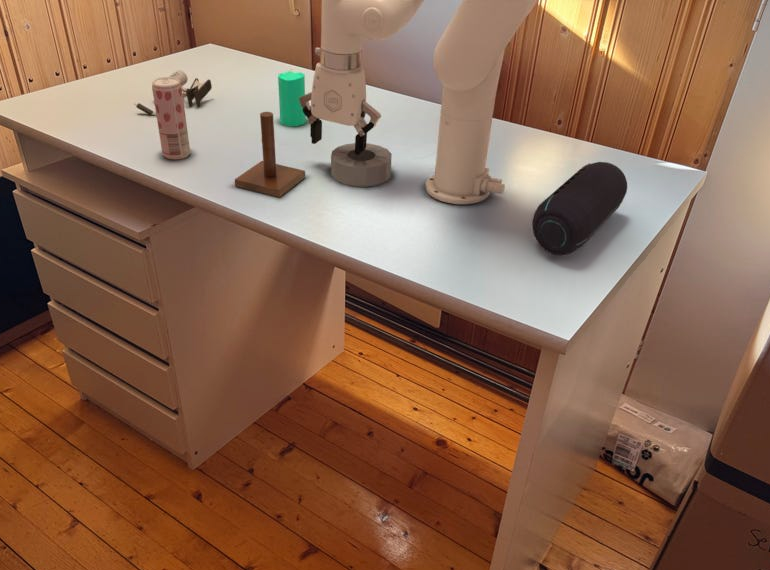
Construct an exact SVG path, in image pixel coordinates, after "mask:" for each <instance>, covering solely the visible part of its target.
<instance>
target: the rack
mask: <svg viewBox="0 0 770 570" xmlns="http://www.w3.org/2000/svg"><path fill="white" fill-rule="evenodd" d="M259 116H260V117H259V118H260V120H259V121H260V133H261V134H260V135H261V148H262V149H261V150H262V160H260V161H259V162H258V163H256V164H255V165H253V166H252V167H251V168H249V169H247V170H246V171H245V172H243V173H242V174H240V175H238V176H237V177H236V178H234V187H236V188H240V189H244V190H248V191H253V192H256V193H259V194H265V195H268V196H273V197H276V198H281V197H282V196H284V195H285V194H286V193H287V192H289V191H290V190H292V189H293V188H294V187H295V186H296V185H298V184H299V183H300V182H301V181H303V180H304V179H306V170H304V169H299V168H297V167H296V168H295V167H291V166H287V165H282V164H278V163H277V159H276V158H277V157H276V142H275V141H276V140H275V123H274V122H275V120H274V113H273V112H271V111H263V112H260V115H259Z"/></svg>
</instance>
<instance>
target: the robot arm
mask: <svg viewBox="0 0 770 570" xmlns="http://www.w3.org/2000/svg"><path fill="white" fill-rule="evenodd" d="M424 1H425V0H321V13H320V14H321V16H320V17H321V18H320V19H321V22H320V23H321V24H320V46H319V47H318V46H316V47H315V49H314V55H316V56H318V57H319V62H316V65H315V69H314V74H313V78H312V79H313V80H312V87H311V92H308V93H305V95H303V96H301V97H299V102H300V104H301V107H302V108H303V113H304V114H305V115H306V119H307V122H308V123H309V124H310V132H309V133H310V138H311V144H313V145H315V144H317V143H319V142H321V140H322V138H323V121H326V122H331V123H335V124H340V125H342V126H343V125H344V126H347V127H352V126H353V128H354V129H355V131H356V132H357V134H356V135H355V137H354V139H355V141H354V143H355V154H356V155H359V154H360V153H361V152H363V151H364V150H365V149H366V143H368V142H367V141H368V140H367V139H368V133H369V132H370V131H371V130H373V129H374V128H375V127H377V124H378V122H379V121H380V120H381V118H382V114H381V112H379V111H378V110H376V108H375V107H373V106H372V105H371V104H369V103H368V102H367V84H366V82H367V81H366V75H365V74H366V73H365V70H364V67H362V53H363V52H362V51H363V38H364V39H366V40H370V41H375V42H383V41H386V40H388V39H389V38H391V37H392V36H393V35H394V34H396V33H397V32H398V31H400V30H401V29H402V28H403V27H405V26H406V25H407V24H408V23H409V22H410V21H411V20H412V18H413V17H414V16H415V14H416V13H417V12H418V10H419V8H421V6H422V4H423V3H424ZM537 2H538V0H462V1H461V3H460V5H459V6H458V8H457V10H456V11H455V13H454V15H453V17H452V18H451V20H450V21H449V23H448V25H447V26H446V28H445V30H444V32H443V33H442V34H441V37H440V38H439V40H438V42H437V44H436V46H435V49H434V53H433V58H432V59H433V61H432V63H433V70H434V73H435V75H436V77H437V79H438V80H439V82H440V83H441V84H442V85H443V87H442V94H441V106H440V115H439V125H438V136H437V146H436V157H435V167H434V174H432V175H431V176H430V177H428V178H427V180H426V181H425V191H426V193H427V194H428V195H429V196H430V197H432V198H433V199H435V200H437V201H439V202H443V203H447V204H453V205H472V204H477V203H481V202H483V201H485V200H486V199H487V198H488V197H489V196H490V194H491V192H492V193H493V194H497V195H503V194H504V192H505V187H506V184H505V183H503V179H502V178H497V177H492V176H491V175H489V174H490V168H488V167H486V165H487V161H488V160H487V159H488V152H489V145H490V139H491V138H490V137H491V130H492V123H493V116H494V110H495V102H496V98H497V92H498V91H497V90H498V86H499V80H500V76H501V71H502V66H503V62H504V55H505V49H506V48H507V46H508V45H509V43H510V42H511V40H512V39H513V37H514V36H515V35H516V33H517V31H518V30H519V28H520V27H521V25H522V24H523V23H524V21H525V20H526V18H528V15H530V13H531V12H532V11H533V9H534V7H535V6H536V4H537ZM366 115H367V116H369V118H370V119H369V121H368V123H367V121H366V119H365V117H366Z"/></svg>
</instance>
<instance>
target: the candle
mask: <svg viewBox="0 0 770 570" xmlns="http://www.w3.org/2000/svg"><path fill="white" fill-rule="evenodd" d="M305 76H306V75H305V73H303V72H294V71H293V70H290V71H285V72H282V73H278V75H277V83H278V99H279V100H278V104H279V105H278V106H279V122H280V124H281V125H283V126H287V127H300V126H303V125H305V124H306V123H307V121H306V119H307V117H306V115H305V114H304V113H303V108H302V107H301V104H300V102H299V97H301V96H303V95H305V94H306V81H305V80H306V79H305V78H306V77H305Z"/></svg>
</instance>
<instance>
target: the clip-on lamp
mask: <svg viewBox="0 0 770 570" xmlns="http://www.w3.org/2000/svg"><path fill="white" fill-rule="evenodd" d="M168 77H173V78H177V79H179V81H180V84H181V87H182V95H183V97H186V98H187V103H188V107H192V106H193V100H194V99H195V100H194V101H195V106H196V107H198V108H200V107H201V101H202V100H203V99H204V98H205V97H206V96H207V95H208V94H209V92H210V91H211V90H212V87H213V86H212V85H213V84H212V80H211V79H210V78H209V79H207V80H206V81H203V82H201V83H200V82H199V78H198V77H197V78H194V80H193V82H192V84H191V86H190V87H189V88H188V87H187V88H186V87H183V86H185V85H186V84H187V83H188V81H189V79H188V75H187V74H186V72H185V71H183V70H180V69H179V70H176V71H175V72H173V73H171V74H170V75H169V76H168ZM151 91H152V92H153V90H152V89H151ZM133 105H135V107H136V108H137V109H138V110H140V111H142V112H144V113H145V114H147V115H149V116H152V115H153V116H156V113H155V112H154V110H152V109H150V108H148V107H147V106H146V105H145V106H144V105H143V104H142V103H140V102H138V103H136V102H134V103H133Z"/></svg>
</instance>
